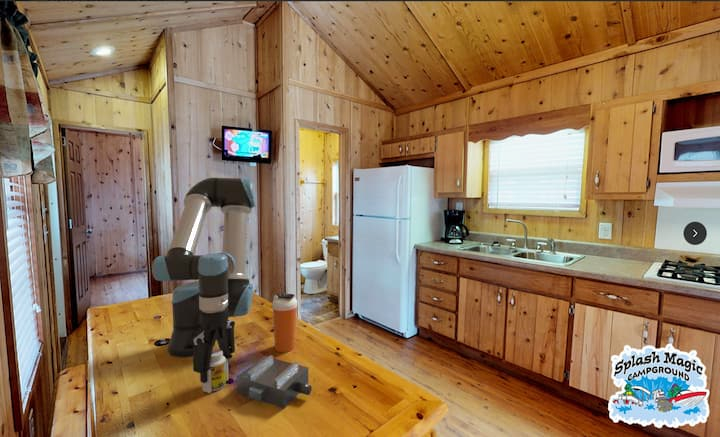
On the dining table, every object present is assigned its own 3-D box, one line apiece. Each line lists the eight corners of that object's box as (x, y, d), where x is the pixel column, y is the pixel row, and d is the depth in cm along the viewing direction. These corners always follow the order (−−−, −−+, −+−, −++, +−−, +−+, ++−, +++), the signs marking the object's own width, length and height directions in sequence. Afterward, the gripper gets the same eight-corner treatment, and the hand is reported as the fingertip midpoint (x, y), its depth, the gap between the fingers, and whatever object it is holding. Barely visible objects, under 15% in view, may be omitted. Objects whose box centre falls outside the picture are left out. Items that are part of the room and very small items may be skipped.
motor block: (231, 397, 88) (231, 375, 87) (264, 370, 100) (264, 351, 100) (292, 418, 80) (292, 393, 80) (320, 386, 93) (320, 365, 92)
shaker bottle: (291, 355, 110) (291, 299, 108) (267, 352, 112) (267, 297, 110) (301, 343, 119) (301, 291, 117) (279, 340, 121) (278, 289, 119)
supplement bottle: (203, 393, 89) (202, 358, 88) (207, 381, 94) (207, 348, 93) (224, 390, 90) (223, 356, 89) (227, 379, 96) (227, 347, 95)
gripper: (196, 323, 80) (198, 408, 82) (247, 300, 97) (248, 371, 99) (175, 318, 83) (177, 401, 85) (228, 296, 100) (229, 366, 102)
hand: (215, 384), depth 92 cm, fingers closed on supplement bottle, 6 cm apart
